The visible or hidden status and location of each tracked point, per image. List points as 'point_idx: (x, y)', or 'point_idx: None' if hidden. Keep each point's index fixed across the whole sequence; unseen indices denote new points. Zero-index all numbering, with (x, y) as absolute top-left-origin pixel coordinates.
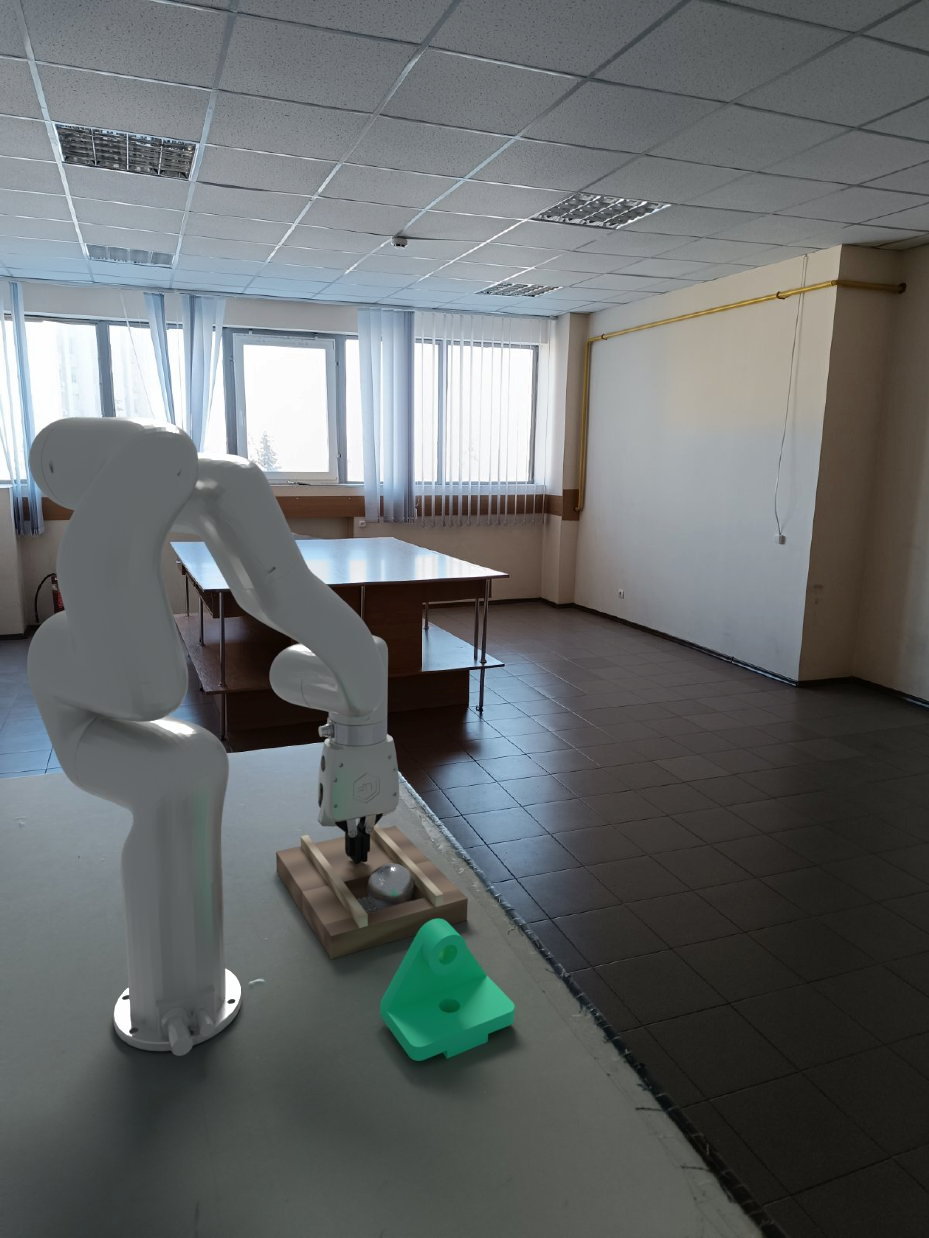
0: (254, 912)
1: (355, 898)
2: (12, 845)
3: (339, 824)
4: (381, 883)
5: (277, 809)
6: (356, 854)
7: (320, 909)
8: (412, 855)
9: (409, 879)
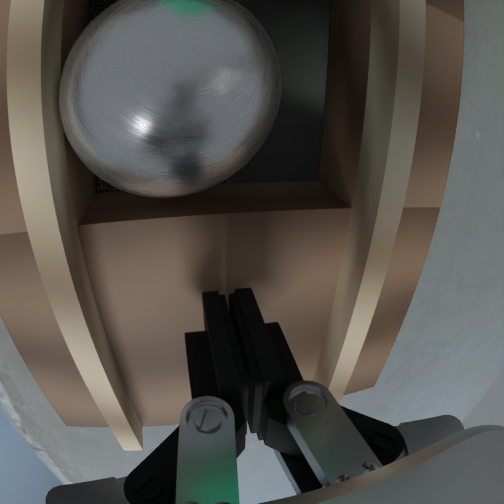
0: (453, 231)
1: (398, 11)
2: (477, 403)
3: (393, 433)
4: (256, 29)
5: (255, 475)
6: (260, 313)
7: (448, 91)
8: (21, 292)
9: (91, 24)
